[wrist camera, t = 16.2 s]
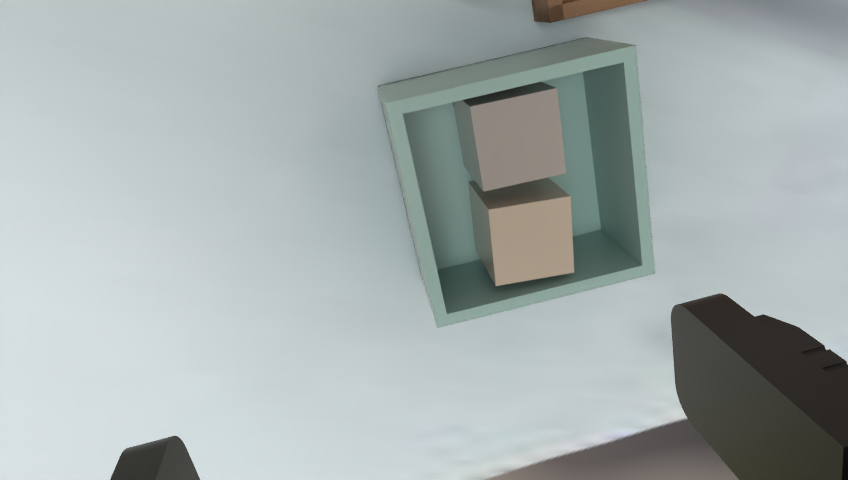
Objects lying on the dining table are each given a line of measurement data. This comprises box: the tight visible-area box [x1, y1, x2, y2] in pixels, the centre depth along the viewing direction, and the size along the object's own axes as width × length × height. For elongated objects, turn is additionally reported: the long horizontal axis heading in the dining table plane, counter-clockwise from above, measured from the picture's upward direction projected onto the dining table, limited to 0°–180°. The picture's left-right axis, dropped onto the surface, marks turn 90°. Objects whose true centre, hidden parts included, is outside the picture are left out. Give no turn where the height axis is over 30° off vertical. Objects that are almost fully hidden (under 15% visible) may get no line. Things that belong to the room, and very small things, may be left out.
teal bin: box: [378, 38, 655, 328], centre depth 33 cm, size 11×11×6 cm
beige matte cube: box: [468, 178, 574, 286], centre depth 34 cm, size 4×4×5 cm
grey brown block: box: [453, 82, 566, 191], centre depth 32 cm, size 4×4×5 cm
